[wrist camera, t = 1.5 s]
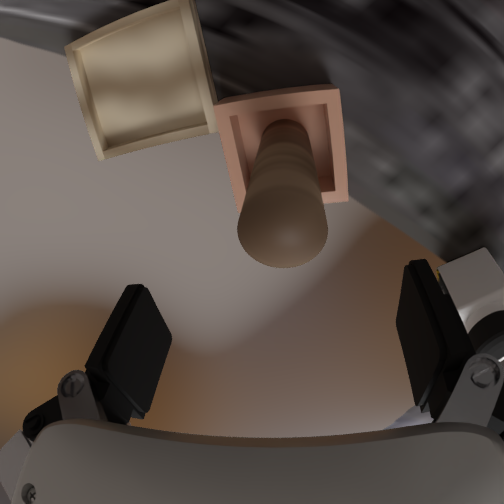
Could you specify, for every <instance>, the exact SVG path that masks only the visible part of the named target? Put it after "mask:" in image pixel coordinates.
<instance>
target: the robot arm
mask: <svg viewBox="0 0 504 504" xmlns="http://www.w3.org/2000/svg"><path fill="white" fill-rule="evenodd" d="M396 327H397V331H398V335H399V339H400V342H401V346H402V350H403V354H404V358H405V362H406V366H407V370H408V375H409V379H410V383H411V387H412V393H413V397H414V402H415V405H416V406H420V409H421V413H424V412H429V411H430V414H431V418H433V421H432V423H428V424H421V425H414V426H406V427H400V428H394V429H387V430H380V431H372V432H363V433H353V434H343V435H333V436H332V435H331V436H316V437H293V438H248V437H247V438H246V437H224V436H208V435H197V434H187V433H178V432H169V431H161V430H154V429H148V428H142V427H135V426H131V424H130V422H129V420H130V417H132V418H138V419H144V416H145V413H147V412H148V411H149V410H150V407H151V403H152V400H153V397H154V394H155V391H156V387H157V384H158V381H159V378H160V375H161V372H162V369H163V366H164V363H165V360H166V357H167V354H168V351H169V348H170V345H171V342H172V336H171V333H170V331H169V329H168V327H167V325H166V323H165V322H164V319H163V317H162V316H161V314H160V312H159V310H158V308H157V306H156V304H155V302H154V300H153V298H152V296H151V294H150V292H149V290H148V288H146V287H144V285H142V284H132V285H128V286H127V287H126V288H125V290H124V292H123V293H122V296H121V297H120V299H119V301H118V302H117V304H116V306H115V308H114V310H113V312H112V314H111V315H110V317H109V319H108V321H107V323H106V325H105V327H104V329H103V331H102V332H101V334H100V336H99V338H98V340H97V342H96V344H95V346H94V348H93V350H92V352H91V354H90V356H89V358H88V361H87V362H86V364H85V368H86V372H85V373H84V372H83V371H80V370H73V371H71V372H69V373H68V374H66V375H65V376H64V377H63V378H62V379H61V381H60V383H59V384H58V388H57V393H58V395H57V396H55V397H53V398H52V399H51V400H49V401H47V402H45V403H44V404H42V405H40V406H39V407H37V408H35V409H34V410H32V411H31V412H30V413H28V415H27V416H26V417H25V419H24V422H23V431H21V430H19V431H18V432H17V433H16V434H15V435H14V436H13V437H12V438H11V439H10V440H9V441H8V442H7V443H6V444H5V446H4V447H3V448H2V449H1V450H0V482H1V483H2V485H3V487H4V489H5V491H6V493H7V495H8V497H9V499H10V501H11V502H12V503H11V504H504V369H503V367H502V365H501V363H500V362H499V361H498V360H497V358H495V357H493V356H492V355H489V354H477V355H476V352H475V350H474V347H473V345H472V343H471V340H470V338H469V335H468V333H467V331H466V328H465V326H464V324H463V321H462V319H461V317H460V315H459V313H458V310H457V308H456V306H455V304H454V302H453V300H452V298H451V296H450V295H449V294H443V292H442V289H441V287H440V285H439V283H438V281H437V279H436V277H435V275H434V273H433V271H432V269H431V267H430V266H429V264H428V262H427V260H426V259H420V260H411V261H410V262H409V265H406V266H405V267H404V274H403V280H402V287H401V294H400V300H399V306H398V311H397V317H396Z"/></svg>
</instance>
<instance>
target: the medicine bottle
mask: <svg viewBox="0 0 504 504" xmlns="http://www.w3.org/2000/svg"><path fill="white" fill-rule="evenodd" d="M436 271H437V277H438V283H439V285H440V287H441V289H442V292H443V294H449V295H450V296H451V298H452V300H453V302H454V304H455V306H456V308H457V310H458V313H459V315H460V317H461V319H462V321H463V324H464V326H465V328H466V331H467V333H468V335H469V338H470V340H471V343H472V345H473V347H474V350H475V352H476V355H477V354H489V355H492V356H493V357H495V358H497V360H498V361H499V362H501V361H502V360H504V274H503V272H502V271H501V269H500V267H499V266H498V264H497V263H496V261H495V260H494V259H493V257H492V256H491V254H490V253H489V251H488V250H487V248H485V247H483V248H481V249H479V250H476V251H474V252H472V253H470V254H467V255H465V256H463V257H460V258H458V259H456V260H453V261H451V262H448V263H446V264H444V265H441V266H439V267H437V269H436Z"/></svg>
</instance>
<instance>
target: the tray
mask: <svg viewBox="0 0 504 504" xmlns="http://www.w3.org/2000/svg"><path fill="white" fill-rule="evenodd" d="M65 52H66V56H67V60H68V64H69V67H70V72H71V75H72V79H73V83H74V86H75V90H76V93H77V97H78V100H79V103H80V107H81V110H82V113H83V116H84V120H85V123H86V126H87V129H88V132H89V135H90V138H91V141H92V144H93V147H94V150H95V152H96V155H97V158H98V161H101V160H105V159H108V158H111V157H115V156H118V155H122V154H126V153H129V152H133V151H137V150H141V149H144V148H148V147H152V146H156V145H161V144H164V143H169V142H173V141H177V140H182V139H187V138H192V137H196V136H201V135H206V134H211V133H217V132H219V130H218V125H217V121H216V117H215V113H214V108H213V106H214V105H215V104H216V103H218V99H217V94H216V90H215V86H214V81H213V77H212V73H211V68H210V64H209V60H208V55H207V51H206V47H205V42H204V38H203V34H202V29H201V25H200V21H199V16H198V12H197V8H196V3H195V0H169V1H166V2H163V3H160V4H157V5H155V6H152V7H149V8H146V9H144V10H141V11H139V12H136V13H133V14H131V15H129V16H126V17H124V18H121V19H119V20H117V21H115V22H112V23H110V24H108V25H106V26H104V27H102V28H99V29H97V30H95V31H93V32H91V33H89V34H87V35H85V36H83V37H81V38H80V39H78V40H76V41H74V42H72V43H70V44H69V45H67V46H65Z"/></svg>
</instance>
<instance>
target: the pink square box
mask: <svg viewBox="0 0 504 504" xmlns="http://www.w3.org/2000/svg"><path fill="white" fill-rule="evenodd" d="M213 108H214V113H215V117H216V121H217V125H218V130H219V134H220V138H221V142H222V146H223V150H224V154H225V159H226V163H227V167H228V172H229V176H230V180H231V184H232V189H233V193H234V197H235V201H236V206H237V209H238V213H240V212H241V210H242V206H243V202H244V199H245V195H246V191H247V188H248V184H249V180H250V177H251V173H252V170H253V166H254V162H255V159H256V155H257V152H258V148H259V145H260V141H261V138H262V134H263V132H264V130H265V129H266V127H267V126H268V125H269V124H271V123H272V122H274V121H276V120H280V119H290V120H293V121H296V122H298V123H299V124H301V125H302V126H303V127H304V128H305V130H306V131H307V133H308V136H309V140H310V144H311V148H312V153H313V157H314V161H315V166H316V171H317V175H318V180H319V185H320V189H321V194H322V199H323V204H324V203H336V202H347V201H348V181H347V165H346V151H345V139H344V128H343V118H342V109H341V100H340V92H339V89H338V88H337V87H336V86H334V85H333V84H332V83H330V84H318V85H307V86H298V87H289V88H281V89H274V90H267V91H260V92H254V93H248V94H242V95H236V96H231V97H226V98H223V99H221V100H220V101H219V102H218V103H216V104H215V105H214V106H213Z"/></svg>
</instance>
